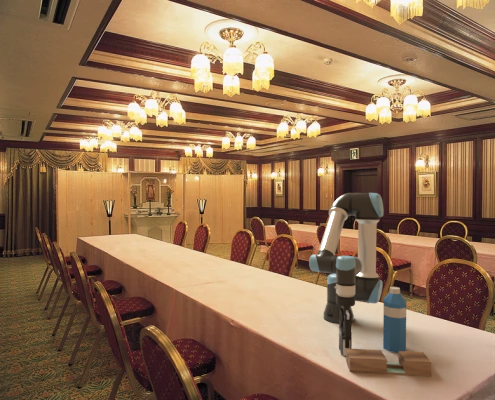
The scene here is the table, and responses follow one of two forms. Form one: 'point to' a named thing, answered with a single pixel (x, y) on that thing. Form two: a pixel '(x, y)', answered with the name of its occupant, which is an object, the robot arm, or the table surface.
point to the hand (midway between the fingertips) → (344, 350)
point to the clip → (341, 335)
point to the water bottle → (394, 321)
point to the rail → (378, 363)
